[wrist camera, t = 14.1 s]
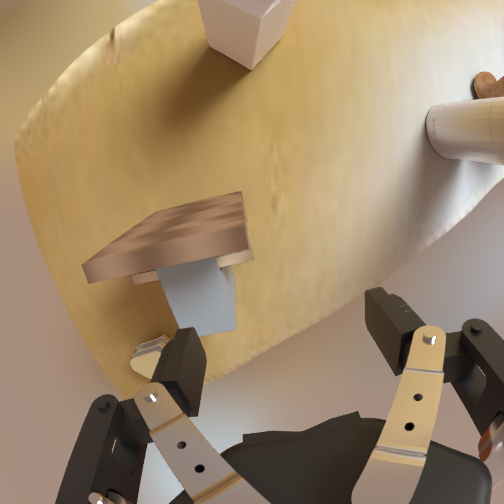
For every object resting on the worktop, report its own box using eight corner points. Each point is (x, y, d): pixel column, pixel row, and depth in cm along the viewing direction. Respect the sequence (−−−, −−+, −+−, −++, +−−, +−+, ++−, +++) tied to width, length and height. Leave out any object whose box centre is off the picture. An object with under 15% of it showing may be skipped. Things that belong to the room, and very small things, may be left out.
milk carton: (251, 71, 30) (264, -5, 12) (208, 46, 29) (187, -35, 11) (282, 38, 29) (316, -42, 11) (240, 14, 27) (243, -72, 9)
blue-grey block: (217, 216, 32) (211, 246, 23) (236, 287, 36) (238, 335, 27) (174, 227, 32) (152, 260, 23) (197, 295, 36) (186, 344, 27)
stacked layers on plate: (157, 313, 41) (148, 332, 36) (197, 348, 44) (193, 369, 39) (124, 342, 43) (114, 362, 38) (161, 373, 45) (155, 393, 40)
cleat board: (241, 191, 36) (243, 226, 17) (248, 226, 37) (259, 296, 18) (155, 212, 36) (81, 265, 17) (165, 245, 37) (106, 322, 18)
